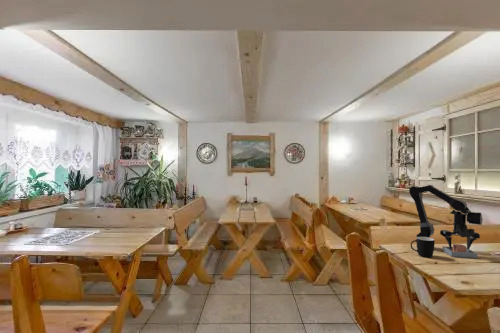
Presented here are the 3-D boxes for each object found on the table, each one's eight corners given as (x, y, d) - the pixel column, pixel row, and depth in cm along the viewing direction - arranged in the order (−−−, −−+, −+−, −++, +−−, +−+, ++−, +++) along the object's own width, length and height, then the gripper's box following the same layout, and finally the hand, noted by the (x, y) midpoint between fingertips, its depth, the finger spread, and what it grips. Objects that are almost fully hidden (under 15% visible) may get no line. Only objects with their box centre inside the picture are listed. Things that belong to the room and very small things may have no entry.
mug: (434, 255, 172) (434, 238, 172) (434, 259, 165) (434, 241, 165) (410, 252, 179) (411, 235, 179) (409, 255, 171) (410, 238, 171)
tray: (451, 256, 170) (451, 251, 170) (442, 251, 182) (442, 246, 182) (477, 258, 168) (477, 253, 168) (466, 252, 179) (466, 247, 179)
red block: (456, 254, 173) (456, 246, 173) (452, 252, 178) (452, 243, 178) (466, 255, 172) (466, 246, 172) (461, 253, 177) (462, 244, 177)
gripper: (448, 223, 169) (447, 251, 169) (485, 225, 165) (485, 253, 165) (440, 220, 180) (439, 246, 180) (475, 222, 176) (474, 248, 176)
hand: (459, 248), depth 175 cm, fingers open, 9 cm apart
